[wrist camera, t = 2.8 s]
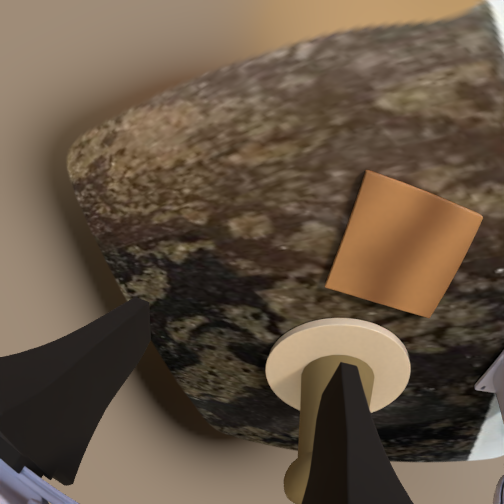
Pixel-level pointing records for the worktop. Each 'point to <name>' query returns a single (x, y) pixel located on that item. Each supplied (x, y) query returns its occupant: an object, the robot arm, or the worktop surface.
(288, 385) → the plate
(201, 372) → the worktop surface
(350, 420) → the robot arm
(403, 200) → the cork trivet
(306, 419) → the pepper shaker
